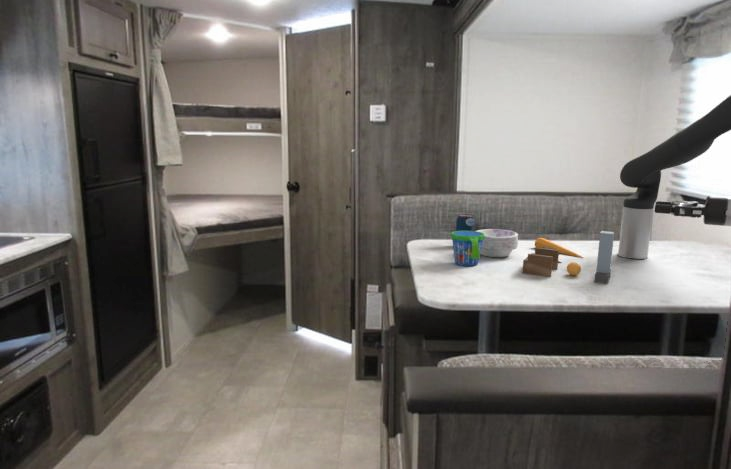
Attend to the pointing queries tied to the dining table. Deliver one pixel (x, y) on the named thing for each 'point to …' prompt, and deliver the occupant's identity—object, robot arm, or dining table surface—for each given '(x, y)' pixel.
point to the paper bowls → (498, 242)
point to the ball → (573, 268)
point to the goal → (541, 262)
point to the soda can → (465, 222)
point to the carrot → (545, 243)
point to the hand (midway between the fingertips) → (655, 206)
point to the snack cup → (467, 247)
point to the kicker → (604, 257)
